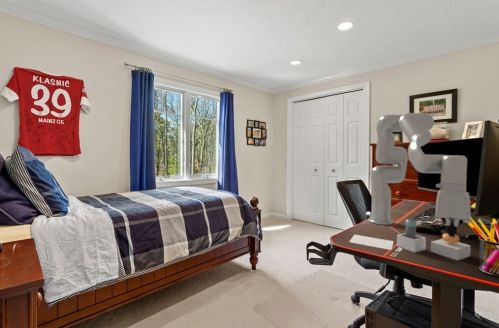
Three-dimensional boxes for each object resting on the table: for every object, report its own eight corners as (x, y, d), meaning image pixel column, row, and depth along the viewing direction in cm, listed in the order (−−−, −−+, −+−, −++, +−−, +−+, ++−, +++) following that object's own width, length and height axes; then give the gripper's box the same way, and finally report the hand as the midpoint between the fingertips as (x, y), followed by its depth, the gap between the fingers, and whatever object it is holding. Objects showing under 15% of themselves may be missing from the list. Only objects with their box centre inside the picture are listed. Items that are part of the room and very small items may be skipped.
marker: (402, 245, 104) (404, 219, 103) (407, 244, 105) (409, 218, 105) (411, 249, 100) (413, 221, 100) (416, 247, 102) (418, 220, 102)
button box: (430, 251, 99) (430, 241, 99) (442, 248, 103) (443, 238, 103) (457, 260, 91) (458, 249, 91) (470, 256, 96) (470, 245, 95)
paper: (348, 242, 109) (348, 241, 109) (354, 234, 119) (354, 234, 119) (391, 250, 100) (391, 249, 100) (393, 241, 110) (393, 241, 110)
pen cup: (396, 246, 104) (397, 234, 104) (407, 244, 108) (407, 232, 107) (414, 253, 98) (415, 240, 98) (425, 250, 101) (425, 237, 101)
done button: (439, 239, 98) (439, 234, 98) (446, 237, 101) (446, 232, 100) (454, 243, 94) (455, 238, 94) (461, 241, 96) (461, 236, 96)
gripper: (429, 187, 97) (427, 234, 98) (481, 190, 89) (479, 242, 90) (428, 185, 103) (426, 230, 104) (477, 188, 95) (475, 236, 96)
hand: (451, 235), depth 97 cm, fingers closed
